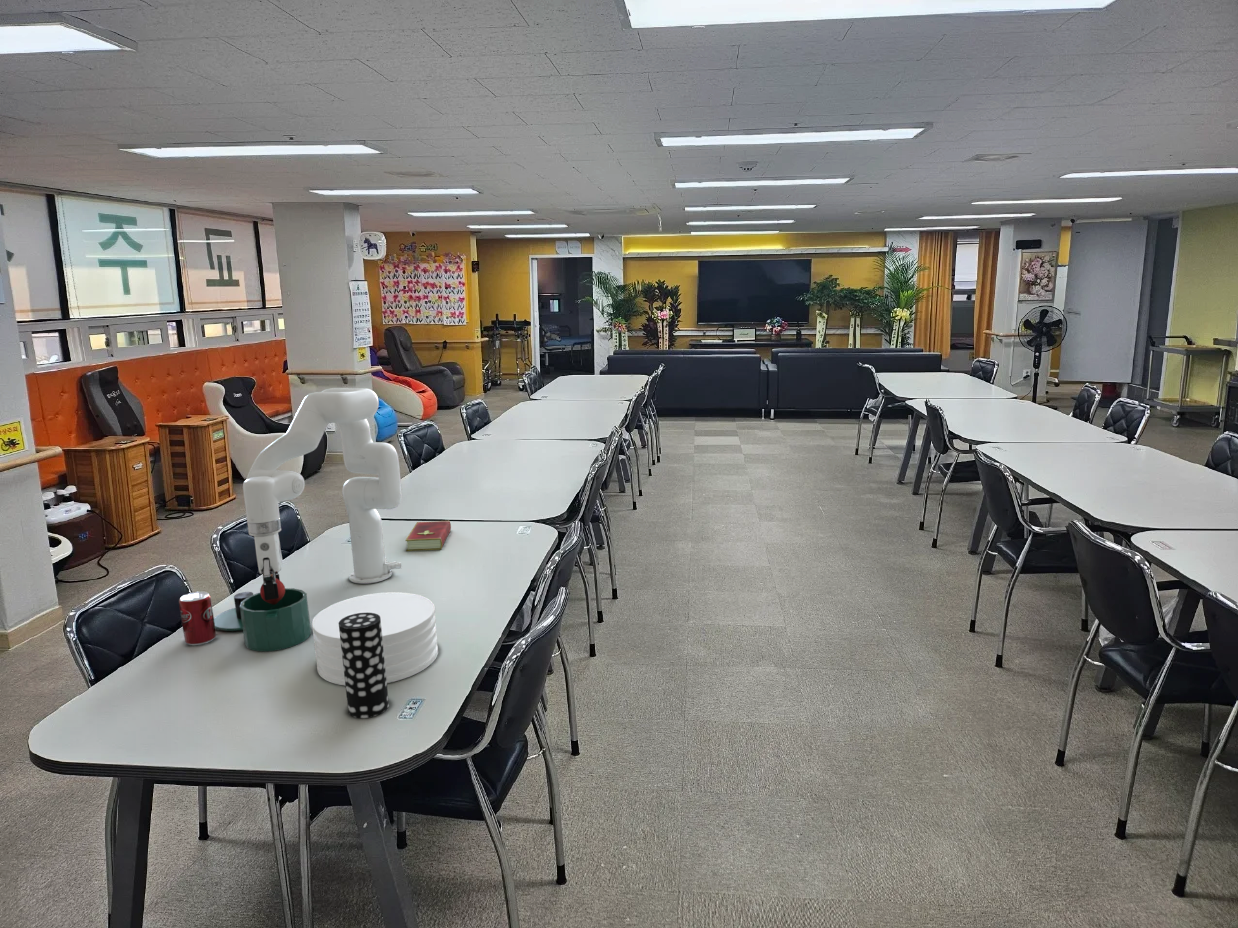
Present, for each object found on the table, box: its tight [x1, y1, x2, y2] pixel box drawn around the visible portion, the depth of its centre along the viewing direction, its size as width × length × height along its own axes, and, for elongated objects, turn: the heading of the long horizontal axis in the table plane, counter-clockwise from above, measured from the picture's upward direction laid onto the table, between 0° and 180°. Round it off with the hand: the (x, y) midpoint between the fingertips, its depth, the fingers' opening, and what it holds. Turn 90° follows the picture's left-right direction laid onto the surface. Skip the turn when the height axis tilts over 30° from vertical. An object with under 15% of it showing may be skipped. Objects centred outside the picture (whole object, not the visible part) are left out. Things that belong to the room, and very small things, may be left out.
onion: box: [259, 574, 286, 605], centre depth 208 cm, size 6×6×8 cm
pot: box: [240, 587, 312, 652], centre depth 210 cm, size 16×21×10 cm
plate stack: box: [311, 591, 439, 686], centre depth 197 cm, size 28×28×12 cm
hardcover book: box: [405, 520, 452, 552], centre depth 287 cm, size 12×21×4 cm, turn 3°
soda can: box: [178, 591, 217, 646], centre depth 210 cm, size 7×7×12 cm
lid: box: [214, 591, 254, 632], centre depth 223 cm, size 17×17×7 cm
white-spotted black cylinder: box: [339, 613, 390, 719], centre depth 173 cm, size 8×8×20 cm
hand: (273, 593), depth 209 cm, fingers closed on onion, 5 cm apart
